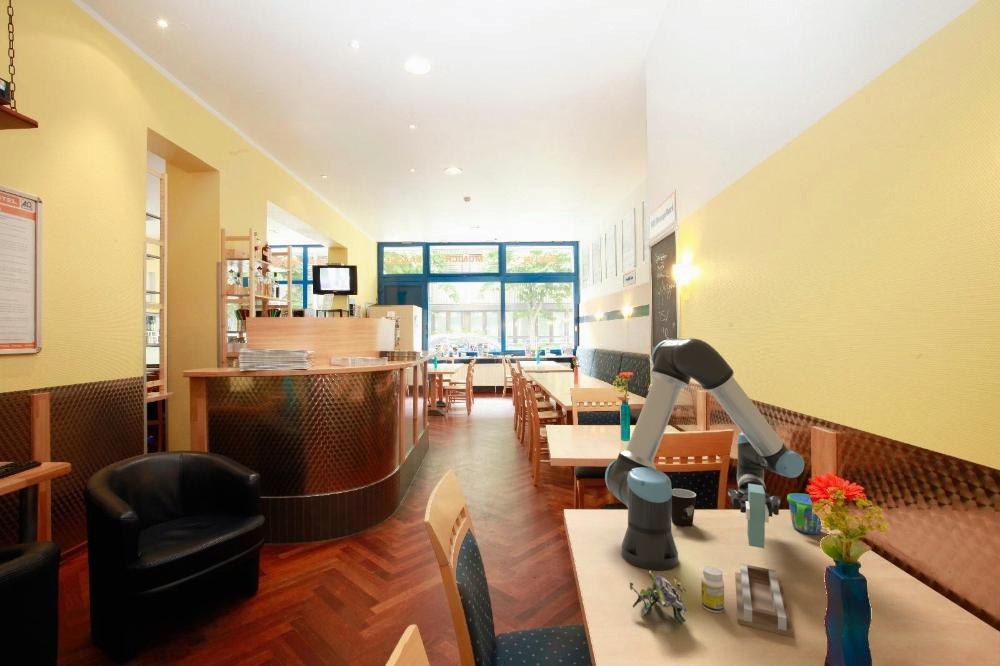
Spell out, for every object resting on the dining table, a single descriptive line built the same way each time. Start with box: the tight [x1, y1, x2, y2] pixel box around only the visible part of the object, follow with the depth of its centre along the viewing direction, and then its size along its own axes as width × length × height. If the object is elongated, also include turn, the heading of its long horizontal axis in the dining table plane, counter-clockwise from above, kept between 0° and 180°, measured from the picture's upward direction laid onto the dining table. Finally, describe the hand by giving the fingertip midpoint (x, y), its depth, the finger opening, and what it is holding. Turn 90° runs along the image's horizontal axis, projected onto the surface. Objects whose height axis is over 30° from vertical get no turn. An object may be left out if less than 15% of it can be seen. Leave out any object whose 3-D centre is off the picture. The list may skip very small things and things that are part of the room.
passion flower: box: [629, 570, 688, 625], centre depth 99 cm, size 11×11×12 cm
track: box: [735, 563, 794, 638], centre depth 105 cm, size 22×10×4 cm, turn 154°
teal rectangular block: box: [747, 484, 766, 549], centre depth 121 cm, size 8×4×14 cm, turn 154°
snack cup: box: [786, 492, 823, 535], centre depth 146 cm, size 16×10×10 cm
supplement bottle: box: [701, 565, 725, 614], centre depth 103 cm, size 5×5×8 cm
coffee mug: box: [671, 488, 697, 528], centre depth 151 cm, size 12×9×10 cm
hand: (757, 515), depth 117 cm, fingers closed on teal rectangular block, 3 cm apart
